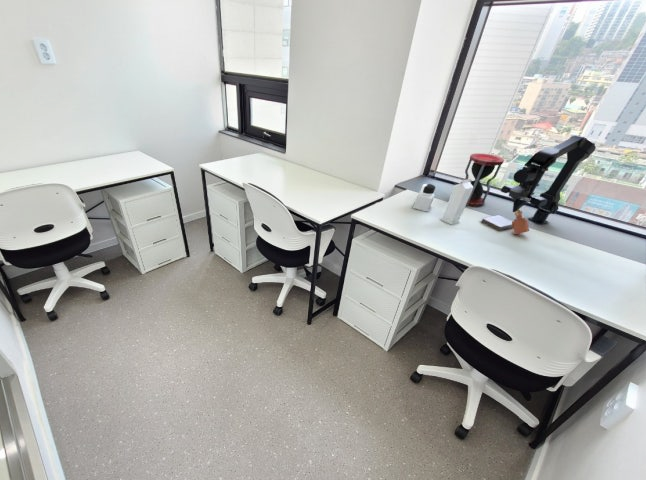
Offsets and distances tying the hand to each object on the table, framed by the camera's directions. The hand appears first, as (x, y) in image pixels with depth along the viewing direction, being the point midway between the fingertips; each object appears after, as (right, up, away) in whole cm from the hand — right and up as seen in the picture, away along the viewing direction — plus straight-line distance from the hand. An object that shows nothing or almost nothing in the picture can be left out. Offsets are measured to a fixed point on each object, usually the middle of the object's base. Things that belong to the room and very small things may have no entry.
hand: (513, 212), depth 150 cm
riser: (-2, -5, +9) cm, 10 cm away
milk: (-25, -3, +10) cm, 28 cm away
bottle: (+1, -7, +3) cm, 8 cm away
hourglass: (-2, +13, +32) cm, 35 cm away
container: (-34, +7, +23) cm, 42 cm away
